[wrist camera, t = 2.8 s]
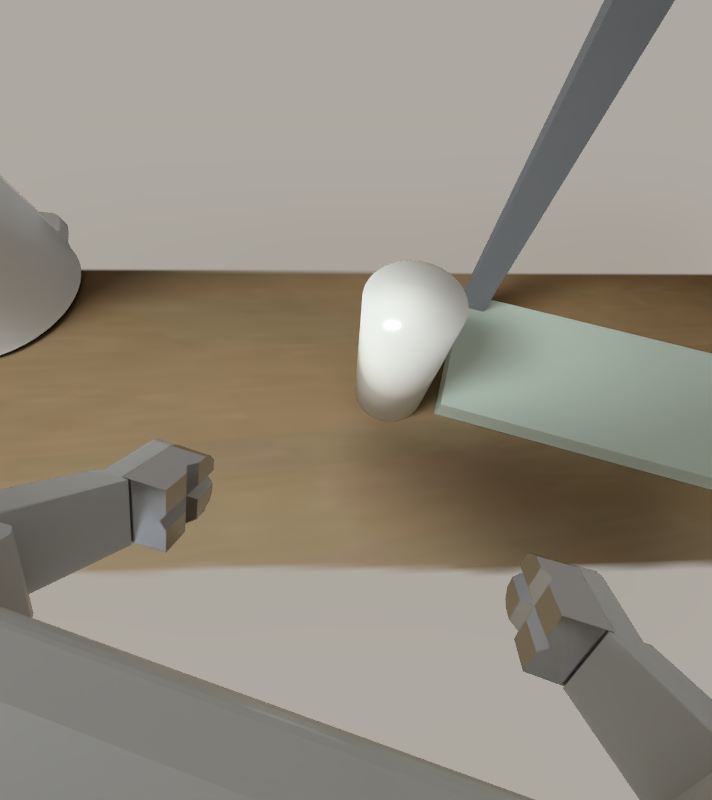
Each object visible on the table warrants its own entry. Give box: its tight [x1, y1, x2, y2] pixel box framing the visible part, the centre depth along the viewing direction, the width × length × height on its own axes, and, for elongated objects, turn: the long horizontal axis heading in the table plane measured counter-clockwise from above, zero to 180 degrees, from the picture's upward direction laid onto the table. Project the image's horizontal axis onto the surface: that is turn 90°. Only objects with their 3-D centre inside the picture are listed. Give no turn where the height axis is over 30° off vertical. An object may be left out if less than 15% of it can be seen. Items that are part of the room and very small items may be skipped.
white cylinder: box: [355, 261, 469, 421], centre depth 22 cm, size 6×6×11 cm
